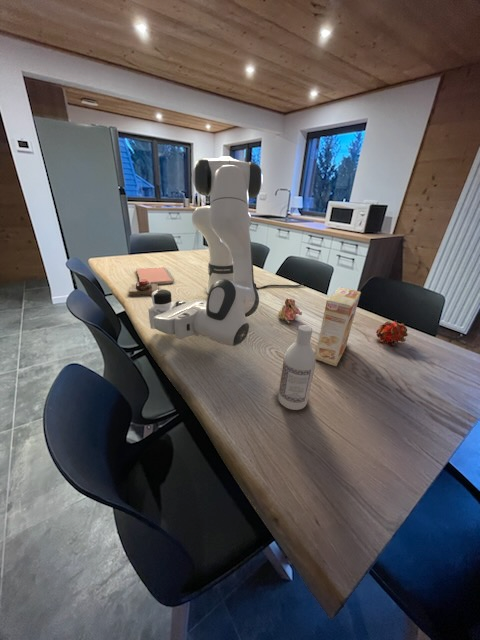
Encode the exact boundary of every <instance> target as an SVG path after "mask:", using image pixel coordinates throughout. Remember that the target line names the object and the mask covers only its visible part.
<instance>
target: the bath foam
mask: <svg viewBox="0 0 480 640" xmlns="http://www.w3.org/2000/svg"><path fill="white" fill-rule="evenodd" d="M312 334H313V328H312V327H311V326H309V325H305V324H302V325H299V326H298V327H297V332H296V339H295V341H294V342H293V343H292V344H291V345H290V346H289V347H288V348H287V350H286V351H285V354H284V356H283V362H282V367H281V374H280V381H279V387H278V395H277V398H278V402H279V403H280V404H281V405H282V406H283V407H285V408H286V409H289V410H292V411H299V410H302V409H304V408H305V407H306V406H307V404H308V400H309V396H310V391H311V386H312V381H313V377H314V373H315V369H316V368H315V367H316V359H315V352H314V349H313V347H312V345H311V339H312Z"/></svg>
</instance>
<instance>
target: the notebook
mask: <svg viewBox="0 0 480 640" xmlns="http://www.w3.org/2000/svg"><path fill="white" fill-rule="evenodd" d="M136 274H137V278H138V281H139V280H141V279H147V280H148V282H151V284H158V285H169V284H170V285H171V284H174V281H175V280H174V278H173V276H172V275H171V273H170V272H169V271H168V269H167V268H166V267H164V266H162V267H161V266H159V267H144V268H143V267H141V268H136Z"/></svg>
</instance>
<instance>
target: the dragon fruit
mask: <svg viewBox="0 0 480 640" xmlns="http://www.w3.org/2000/svg"><path fill="white" fill-rule="evenodd" d="M375 333H376V337H377V338H378V340H377V342H380V343H383V344H387V343H390V344H391V346H395V345H396V346H397V344H398V342H400V343H405V342H406V337H408V328H407V326H406V325H405V324H404V323H399V322H398V321H397V320H394V321H393V322H391V321H390V320H388V321H386V322H385V323H382V324H380V325H379V328H378V329H376V331H375Z"/></svg>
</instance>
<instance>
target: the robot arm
mask: <svg viewBox="0 0 480 640" xmlns="http://www.w3.org/2000/svg"><path fill="white" fill-rule="evenodd" d="M194 164H195V165H194V166H193V170H192V175H191V176H192V183H193V187H194V188H195V191H196V192H197V193H198V194H199V195H201V196H204V197H208V196H209V205H203V206H197V207H196V208H195V209H194V211H193V212H192V216H191V221H192V225H193V227H194V229H196V231H198V232H199V233H200V234H201V235H202V236H203V238H204V239H205V241H206V243H207V247H208V257H209V258H208V259H209V261H208V266H207V274H208V281H207V286H206V288H205V289H206V290H205V293H206V294H207V297H206V299H202V298H198V297H197V298H194V299H192V300H190V301H188V300H185V301H182V300H178V301H175V302H176V306H177V307H175V308H173V309H171V310H168V311H166V312H164V313H161V310H155V311H154V319H153V321H154V327H155V329H154V330H157V331H158V332H161V333H163V334H165V335H170V336H175V338H176V339H178V340H183V339H187V338H190V337H196V336H201V337H207V338H209V339H210V340H211V341H213V342H216V343H218V344H222V345H225V346H229V347H235V346H238V345H240V344H242V343H243V341H245V340H246V338H247V336H248V334H249V332H250V324H249V322H248V320H247V317H250V316H252V315H253V314H254V313H255V312H256V311H257V309H258V307H259V304H260V295H259V292H258V290H261V289H265V288H270V287H282V288H283V287H287V288H289V287H290V288H296V287H301V286H303V285H304V286H307V284H306V282H302V283H300V284H267V285H264V286H261V287H257V284H256V282H255V278H254V259H253V249H252V247H253V246H252V241H251V234H250V233H251V232H250V226H251V224H252V217H251V214H250V212H249V209H250V208H249V205H250V204H249V203H250V202H249V200H251V199H255V198H257V197H258V195H260V192H261V189H262V186H263V179H264V178H263V173H262V168H261V166H260V165H259V164H258V163H255V162H252V161H248V162H247V161H243V160H239V159H235V158H234V157H232V156H228V155H224V156H223V155H222V156H220V157H219V158H208V157H205V158H204V157H203V158H199V159H198V160H197V161H195V163H194Z"/></svg>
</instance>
